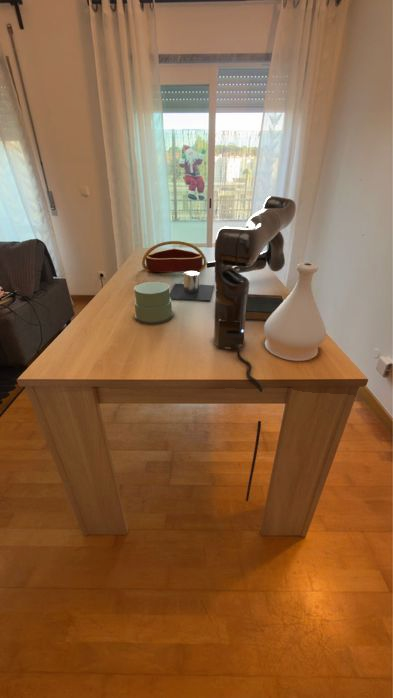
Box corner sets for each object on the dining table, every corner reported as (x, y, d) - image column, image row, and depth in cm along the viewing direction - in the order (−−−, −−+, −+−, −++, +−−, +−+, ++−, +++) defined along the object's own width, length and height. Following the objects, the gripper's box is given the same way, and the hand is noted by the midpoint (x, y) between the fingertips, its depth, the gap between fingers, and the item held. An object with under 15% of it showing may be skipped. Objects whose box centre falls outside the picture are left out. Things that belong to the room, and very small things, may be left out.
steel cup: (192, 295, 120) (192, 276, 116) (180, 291, 123) (180, 273, 119) (202, 290, 124) (202, 272, 120) (190, 287, 128) (190, 269, 123)
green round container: (168, 325, 98) (166, 295, 92) (129, 323, 99) (125, 293, 93) (176, 309, 109) (175, 281, 103) (141, 307, 111) (138, 279, 105)
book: (215, 318, 103) (285, 322, 100) (215, 309, 101) (287, 313, 98) (218, 299, 117) (280, 303, 114) (218, 291, 115) (281, 294, 112)
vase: (255, 333, 93) (265, 256, 80) (307, 331, 94) (325, 254, 81) (271, 364, 78) (286, 275, 65) (331, 361, 79) (359, 273, 66)
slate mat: (209, 301, 115) (209, 300, 115) (166, 299, 118) (166, 298, 117) (213, 286, 131) (213, 285, 130) (175, 284, 133) (175, 283, 132)
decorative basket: (206, 266, 165) (206, 239, 159) (206, 274, 138) (206, 242, 132) (148, 267, 166) (146, 240, 159) (138, 275, 139) (134, 243, 133)
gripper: (236, 251, 130) (204, 254, 125) (253, 259, 119) (218, 263, 114) (235, 267, 134) (204, 271, 129) (251, 276, 123) (217, 281, 118)
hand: (210, 267), depth 121 cm, fingers open, 8 cm apart
